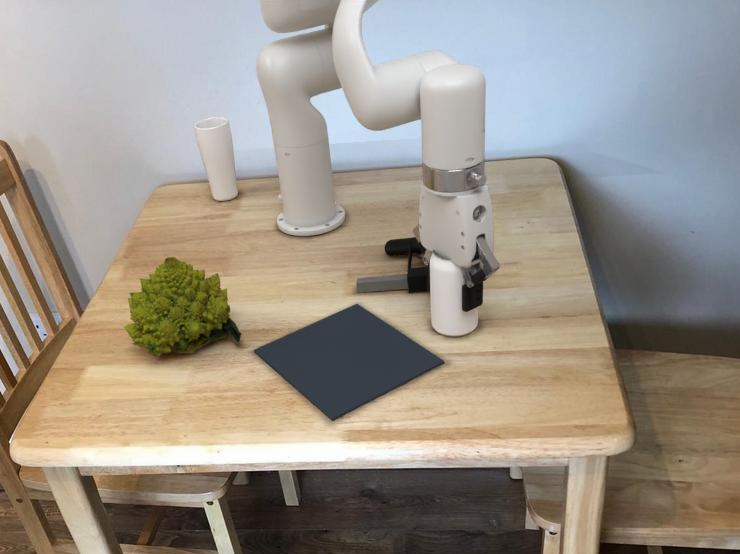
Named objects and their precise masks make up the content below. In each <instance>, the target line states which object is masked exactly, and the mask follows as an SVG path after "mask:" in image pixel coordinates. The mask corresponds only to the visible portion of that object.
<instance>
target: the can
mask: <svg viewBox="0 0 740 554" xmlns="http://www.w3.org/2000/svg"><path fill="white" fill-rule="evenodd" d="M451 260H452V259H446V258H444V257H442V256H440V255H438V254H437V253H434V250H433V254H432V256H431V258H430V292H429V293H430V321H431V327H432V328H433V329H434V331H436V333H438V334H440V335H442V336H446V337H451V338H458V337H463V336H466V335H469V334H471V333H473V331H474V330H475V329H476V328H477V326H478V325H479V307H476V308H474V309H472V310H470V311H468V312H464V311H463V310H462V286H463V285H464V284H465V280H464V277H463V274H462V270H461V267H460V266H459V265H457V264H455V263H453V262H452V261H451ZM470 270H471V273H472V276H473V275H474V274H475V273H477V272H476V269H475V265H473V266H471V267H470Z"/></svg>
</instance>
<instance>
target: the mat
mask: <svg viewBox="0 0 740 554" xmlns="http://www.w3.org/2000/svg"><path fill="white" fill-rule="evenodd" d="M253 352H254V353H255V354H256V355H257V356H258V357H259V358H260V359H261V360H263V361H264V362H265V363H266V364H267V365H268V366H269V367H270V368H272V370H274V371H275V372H276V373H277V374H278V375H280V376H281V377H282V378H283V379H284V380H285V381H286V382H288V383H289V384H290V385H291V386H292V387H293V388H294V389H295V390H297V391H298V392H299V393H300V394H301V395H302V396H303V397H305V398H306V399H307V400H308V402H310V403H311V404H313V406H314V407H316V408H317V409H318V410H319V411H320V412H322V413H323V415H325V417H327V418H328V419H330V421H332V422H333V421H336V420H337V419H339V418H341V417H343V416H345V415H347V414H349V413H351V412H353V411H355V410H357V409H358V408H360V407H363V406H364V405H366V404H368V403H371V402H372V401H374V400H376V399H378V398H380V397H382V396H384V395H386V394H387V393H389V392H391V391H394V390H395V389H397V388H399V387H401V386H404V385H405V384H407V383H409V382H411V381H413V380H415V379H416V378H419V377H421V376H423V375H425V374H427V373H429V372H430V371H432V370H435V369H436V368H438V367H440V366H442V365H444V364H445V360H444V359H443V358H441V357H439V356H438V355H436V354H434V353H433V352H432V351H430V350H429V349H427V348H425V347H424V346H422V345H421V344H420V343H418V342H416V341H415V340H413V339H411V337H408V336H407V335H405V334H404V333H402V332H401V331H400V330H398V329H396V328H395V327H393V326H392V325H391V324H389V323H387V322H386V321H384V320H383V319H381V318H380V317H378V316H377V315H375V314H373V313H372V312H370V311H369V310H367V308H365V307H363V306H361V305H360V304H358V303H355V304H353V305H350V306H349V307H346V308H344V309H342V310H340V311H337V312H335V313H333V314H330V315H328V316H326V317H324V318H321V319H319V320H318V321H315V322H312V323H311V324H308V325H306V326H304V327H302V328H299V329H297V330H295V331H292V332H290V333H289V334H286V335H284V336H281V337H279V338H278V339H275V340H272V341H270V342H269V343H266V344H264V345H262V346H259V347H257V348H255V349H253Z"/></svg>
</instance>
